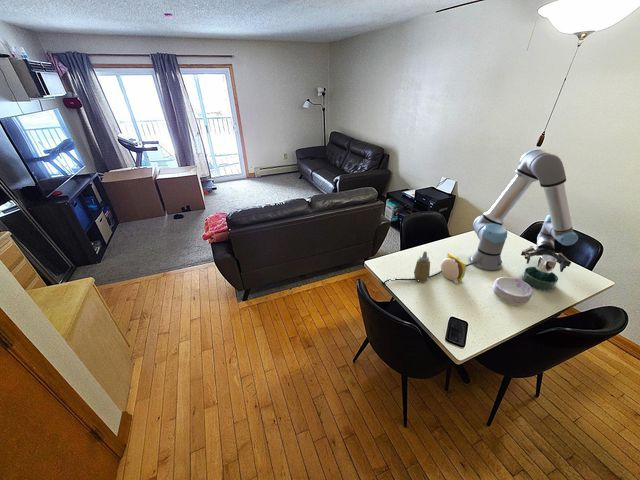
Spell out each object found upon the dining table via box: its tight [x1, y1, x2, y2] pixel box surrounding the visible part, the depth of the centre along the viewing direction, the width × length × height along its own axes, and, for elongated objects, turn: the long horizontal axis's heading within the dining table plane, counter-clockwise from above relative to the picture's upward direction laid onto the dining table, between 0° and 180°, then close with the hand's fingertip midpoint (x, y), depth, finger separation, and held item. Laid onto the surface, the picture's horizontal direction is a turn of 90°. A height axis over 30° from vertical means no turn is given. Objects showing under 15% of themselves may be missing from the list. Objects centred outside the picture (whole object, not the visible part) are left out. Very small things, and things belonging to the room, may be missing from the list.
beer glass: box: [533, 255, 558, 282], centre depth 134 cm, size 7×7×15 cm
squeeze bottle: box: [413, 250, 431, 283], centre depth 141 cm, size 8×8×18 cm
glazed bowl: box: [521, 266, 559, 292], centre depth 136 cm, size 14×14×6 cm
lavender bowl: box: [492, 276, 534, 306], centre depth 127 cm, size 15×15×8 cm
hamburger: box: [440, 252, 467, 284], centre depth 142 cm, size 12×8×12 cm
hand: (544, 265), depth 132 cm, fingers open, 13 cm apart
